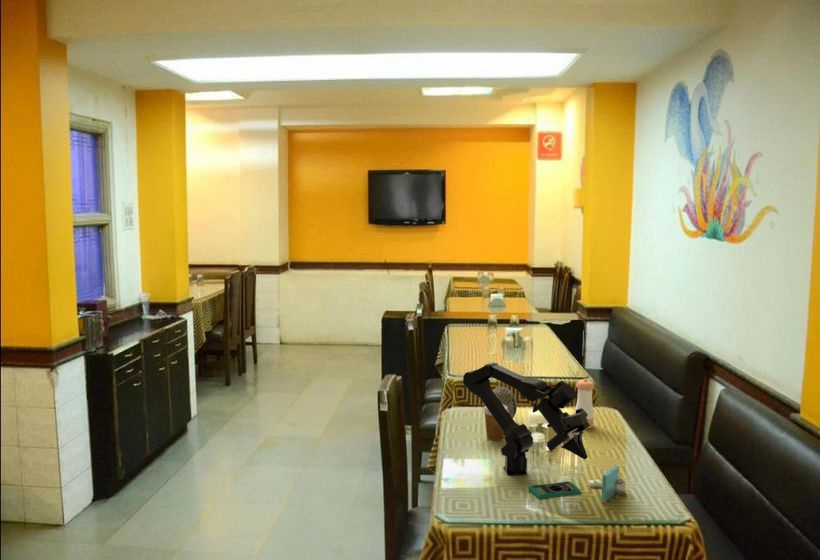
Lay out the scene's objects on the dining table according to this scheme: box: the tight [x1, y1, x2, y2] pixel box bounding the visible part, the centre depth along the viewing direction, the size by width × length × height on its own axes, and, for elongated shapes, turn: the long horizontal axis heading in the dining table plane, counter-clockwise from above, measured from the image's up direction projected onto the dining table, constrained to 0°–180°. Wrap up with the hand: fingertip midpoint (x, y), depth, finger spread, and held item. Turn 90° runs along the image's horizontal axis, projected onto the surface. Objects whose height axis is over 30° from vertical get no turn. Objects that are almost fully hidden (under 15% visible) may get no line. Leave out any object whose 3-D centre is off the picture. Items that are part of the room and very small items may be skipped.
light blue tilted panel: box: [601, 464, 626, 503], centre depth 199 cm, size 12×4×8 cm, turn 140°
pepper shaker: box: [575, 378, 595, 430], centre depth 262 cm, size 7×7×19 cm
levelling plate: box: [587, 479, 602, 488], centre depth 201 cm, size 10×14×4 cm
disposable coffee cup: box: [482, 404, 509, 441], centre depth 250 cm, size 10×10×12 cm
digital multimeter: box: [528, 480, 582, 500], centre depth 202 cm, size 7×15×3 cm, turn 105°
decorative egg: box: [492, 385, 518, 420], centre depth 266 cm, size 12×12×15 cm
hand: (586, 458), depth 201 cm, fingers closed
